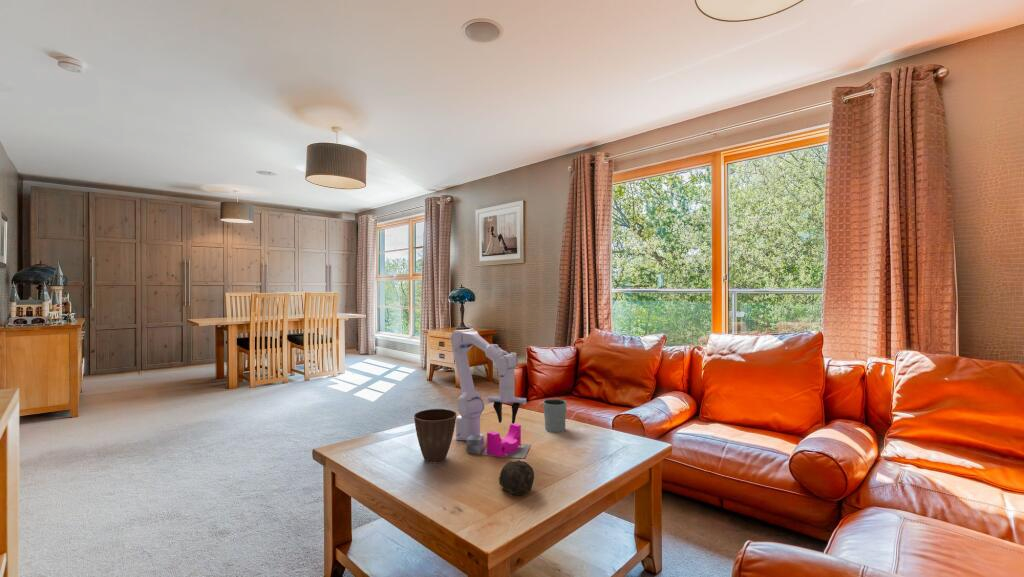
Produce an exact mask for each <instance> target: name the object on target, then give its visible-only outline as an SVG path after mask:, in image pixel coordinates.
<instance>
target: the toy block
mask: <svg viewBox="0 0 1024 577" xmlns="http://www.w3.org/2000/svg"><path fill="white" fill-rule="evenodd" d="M521 441H522V425H521V424H519V423H514V424H512V423H511V424H509V428H508V432H507V433H506V435H505V436H504V437H503V438H501V436H500V432H497V431H494V430H491V431H488V432H486V448H487V453H489V454H492V455H494V456H493V457H497V458H502V457H501V456H504V455H506V454H508V453H510V452H513V451H515V450H517V449H518V445H521V444H522V442H521Z"/></svg>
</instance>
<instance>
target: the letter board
mask: <svg viewBox="0 0 1024 577" xmlns="http://www.w3.org/2000/svg"><path fill="white" fill-rule="evenodd" d="M531 446H532V444H530V443H529V444H528V443H521V445H518V449H517V450H515V451H513V452H510V453H508V454H506V455H504V456H501V457H500V458H511V459H523V460H525V459H526V456H527V454H528V452H529V449H530V447H531ZM480 454H481V456H486V457H487V456H488V457H495V456H494V455H492V454H489V453H487V447H485V449H483V451H482V452H481V453H480Z"/></svg>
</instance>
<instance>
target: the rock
mask: <svg viewBox="0 0 1024 577" xmlns="http://www.w3.org/2000/svg"><path fill="white" fill-rule="evenodd" d="M534 481H535V471H534V468H533V467H532V466H531V465H530V464H529V463H528V462H526V461H525V460H524V461H522V460H520V459H518V460H514V461H513V460H510V461H507V462H506V463H505V464H504V465H503V467H502V469H501V470H500V474H499V477H498V483H499V485H500V486H501V487H502V488H503V490H505V491H507V492H508V493H509V494H511V495H515V496H521V495H523V494H525V493H527V492H531V491H532V488H533V486H534Z"/></svg>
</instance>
